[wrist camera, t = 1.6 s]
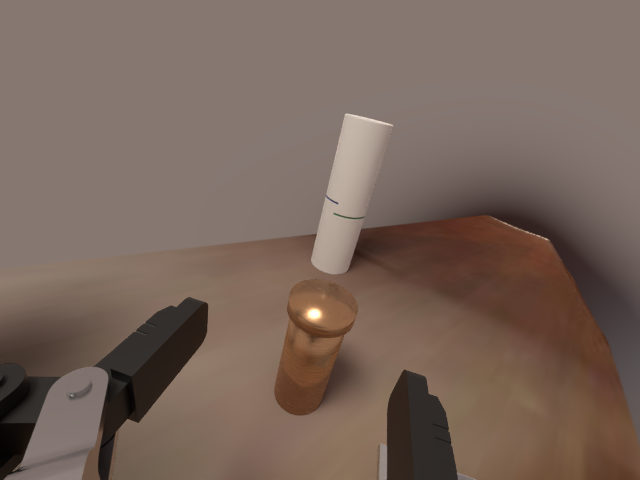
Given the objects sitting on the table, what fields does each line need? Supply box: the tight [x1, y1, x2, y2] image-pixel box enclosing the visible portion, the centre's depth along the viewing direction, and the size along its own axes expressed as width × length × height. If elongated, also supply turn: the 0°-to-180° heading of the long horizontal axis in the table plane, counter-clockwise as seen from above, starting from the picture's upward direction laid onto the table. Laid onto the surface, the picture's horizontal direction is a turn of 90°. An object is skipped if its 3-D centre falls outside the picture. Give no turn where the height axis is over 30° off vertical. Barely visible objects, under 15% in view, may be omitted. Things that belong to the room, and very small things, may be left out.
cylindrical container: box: [311, 114, 393, 274], centre depth 46 cm, size 7×7×25 cm
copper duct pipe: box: [274, 279, 358, 415], centre depth 26 cm, size 6×6×12 cm
